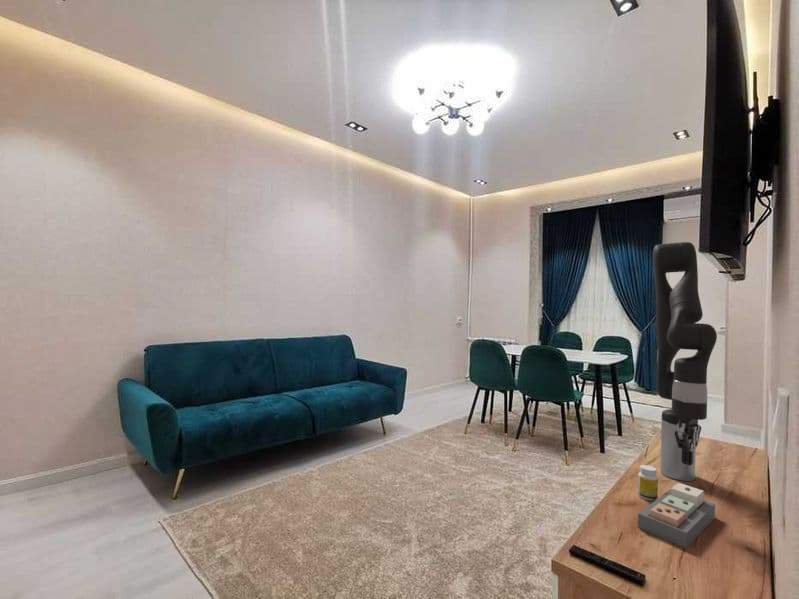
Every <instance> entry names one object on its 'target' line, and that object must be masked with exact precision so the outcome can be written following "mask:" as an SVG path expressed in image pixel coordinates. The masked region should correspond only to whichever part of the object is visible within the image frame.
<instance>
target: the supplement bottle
mask: <svg viewBox="0 0 799 599" xmlns="http://www.w3.org/2000/svg"><path fill="white" fill-rule="evenodd" d="M657 472H658V471H657V468H656V467H654V466H651V465H648V464H641V465H640V466H639V472H638V474H637V476H638V479H637V496H638V497H640V498H641V499H643V500H646V501H652V502H654V501H655V500H657V499H658V491H659V490H658V486H659V485H658V483H659V481H658V480H659V478H658V476H657Z"/></svg>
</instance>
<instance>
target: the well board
mask: <svg viewBox="0 0 799 599" xmlns="http://www.w3.org/2000/svg"><path fill="white" fill-rule="evenodd" d="M669 495H671V488H670V489H668V490H667V491H666V492H665V493H663V494H662V495H661V496H660V497H657V500H655V501H652V502H651V503H649V505H648V506H646V507H645V508H643V509H642V510H641V511H640V512H638V514H637V515H638V516H637V528H638V529H640V530H643V531H645V532H647V533H650V534H652V535H655V536H656V537H658V538H661V539H664V540H666V541H667V542H670V543H673V544H674V545H677V546H680V547H682V548H684V549H688V547H689V546H690V545H691V544H692V543H694V541H695V540H696V539H697V538H698V536H699V535H700V534H702V532H703V531H704V530H705V529H706V528H707V527H708V526H709V524H710V523H712V521H713V520H714V519H715V517H716V504H715V503H713V502H710V501H708V500H704V499H703V503H702V504H701V505H700V506H699V507H698V508H697V509H696V508H695V513H694V514H693V515H692V516H691V517H690V518H686V517H685V522H684V523H683V524H682V525H681V526H680V527H679V528H677V527H675V526H672V525H670V524H667V523H665V522H662V521H660V520H657V519H655V518H652V517H650V510H651V509H652V508H653V507H655V506H656V505H657V504H658V503H661V501H662V500H663V499H665V498H666V497H667V496H669Z"/></svg>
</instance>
